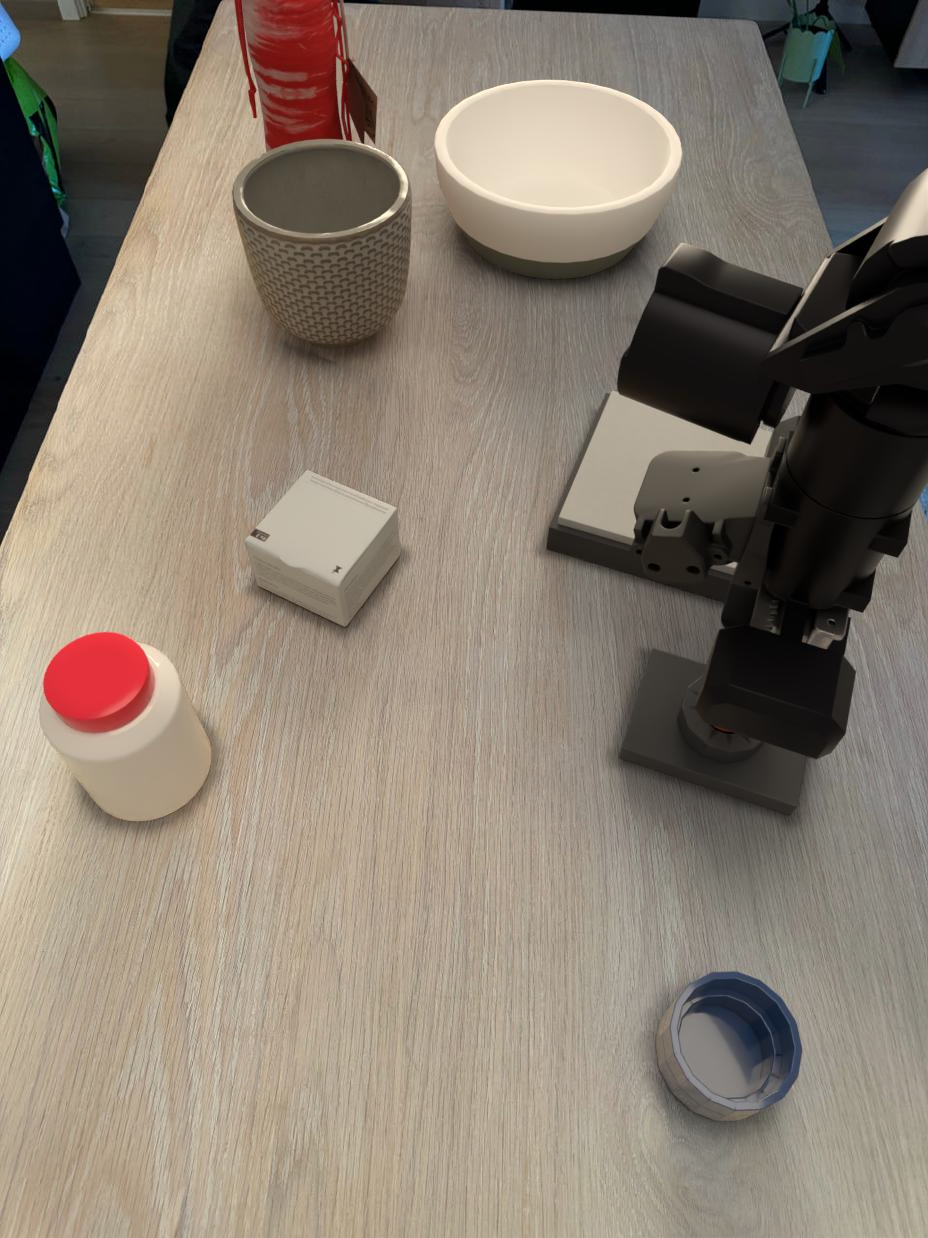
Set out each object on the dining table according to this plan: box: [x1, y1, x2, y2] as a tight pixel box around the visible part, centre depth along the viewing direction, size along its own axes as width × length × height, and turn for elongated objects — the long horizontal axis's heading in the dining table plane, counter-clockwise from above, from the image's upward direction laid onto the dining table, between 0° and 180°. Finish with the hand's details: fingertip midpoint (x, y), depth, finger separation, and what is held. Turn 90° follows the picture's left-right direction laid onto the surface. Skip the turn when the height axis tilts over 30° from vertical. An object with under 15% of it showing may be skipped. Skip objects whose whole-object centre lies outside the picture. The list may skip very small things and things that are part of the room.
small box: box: [243, 469, 402, 628], centre depth 66 cm, size 8×8×5 cm
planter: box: [231, 139, 413, 350], centre depth 78 cm, size 14×14×13 cm
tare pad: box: [618, 647, 808, 816], centre depth 60 cm, size 11×8×3 cm
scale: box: [545, 390, 773, 603], centre depth 71 cm, size 16×15×3 cm
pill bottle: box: [38, 631, 213, 822], centre depth 55 cm, size 8×8×11 cm
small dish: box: [655, 970, 803, 1122], centre depth 49 cm, size 6×6×4 cm
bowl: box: [433, 79, 684, 280], centre depth 89 cm, size 22×22×8 cm
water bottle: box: [233, 0, 378, 152], centre depth 83 cm, size 12×8×25 cm, turn 84°
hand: (755, 660), depth 53 cm, fingers closed
